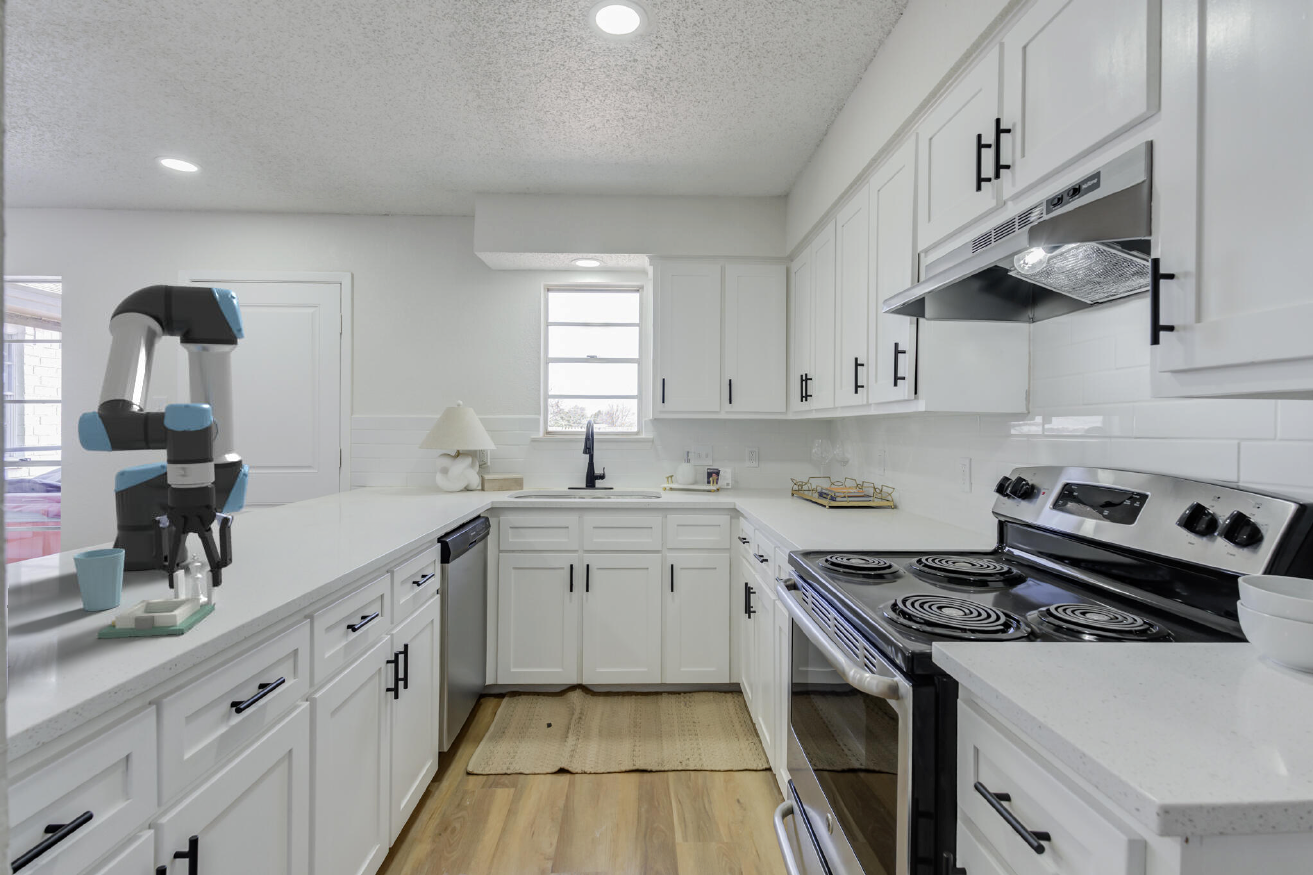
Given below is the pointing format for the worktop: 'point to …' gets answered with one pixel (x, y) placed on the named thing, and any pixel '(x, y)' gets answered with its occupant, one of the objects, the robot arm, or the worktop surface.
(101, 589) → the cup
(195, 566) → the chess piece
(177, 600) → the header board
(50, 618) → the worktop surface
